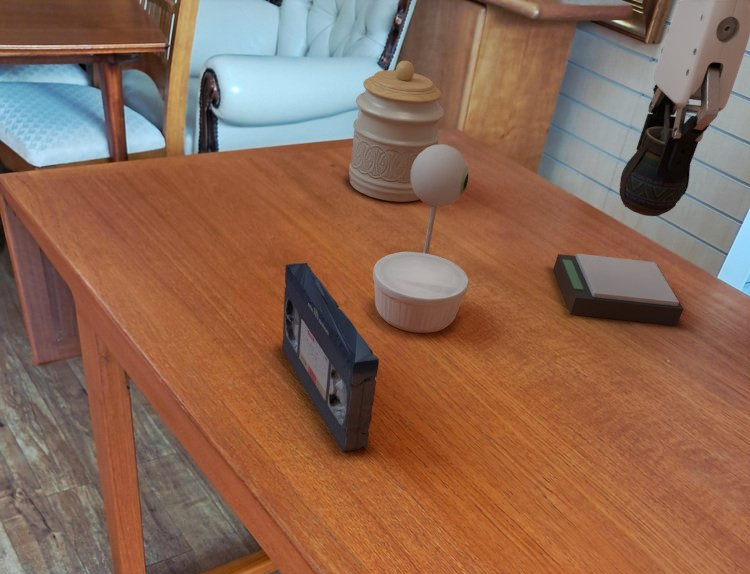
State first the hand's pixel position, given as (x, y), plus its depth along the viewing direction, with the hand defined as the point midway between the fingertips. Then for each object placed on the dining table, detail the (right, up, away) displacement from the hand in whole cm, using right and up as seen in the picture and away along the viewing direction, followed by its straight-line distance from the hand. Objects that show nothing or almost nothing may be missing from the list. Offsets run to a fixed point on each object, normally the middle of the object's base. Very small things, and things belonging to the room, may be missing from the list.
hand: (659, 163), depth 86 cm
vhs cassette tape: (-37, -26, -6) cm, 46 cm away
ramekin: (-26, -15, +8) cm, 31 cm away
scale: (0, -10, +18) cm, 20 cm away
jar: (-29, +12, +37) cm, 48 cm away
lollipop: (-25, -5, +19) cm, 31 cm away
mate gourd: (-1, -4, +4) cm, 5 cm away
